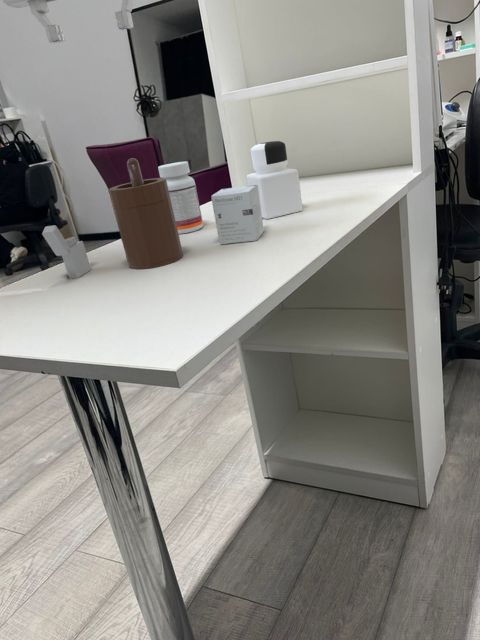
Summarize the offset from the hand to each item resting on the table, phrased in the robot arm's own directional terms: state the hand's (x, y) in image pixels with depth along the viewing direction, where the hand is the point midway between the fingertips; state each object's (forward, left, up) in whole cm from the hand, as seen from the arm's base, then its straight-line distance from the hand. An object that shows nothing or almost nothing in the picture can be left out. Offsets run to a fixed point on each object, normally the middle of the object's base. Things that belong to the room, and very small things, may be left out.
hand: (91, 35), depth 68 cm
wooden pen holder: (+2, -1, -29) cm, 29 cm away
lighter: (-10, -5, -30) cm, 31 cm away
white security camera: (+18, +22, -30) cm, 41 cm away
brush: (+2, -1, -29) cm, 29 cm away
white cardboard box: (+14, +6, -30) cm, 33 cm away
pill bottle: (+2, +18, -30) cm, 35 cm away
